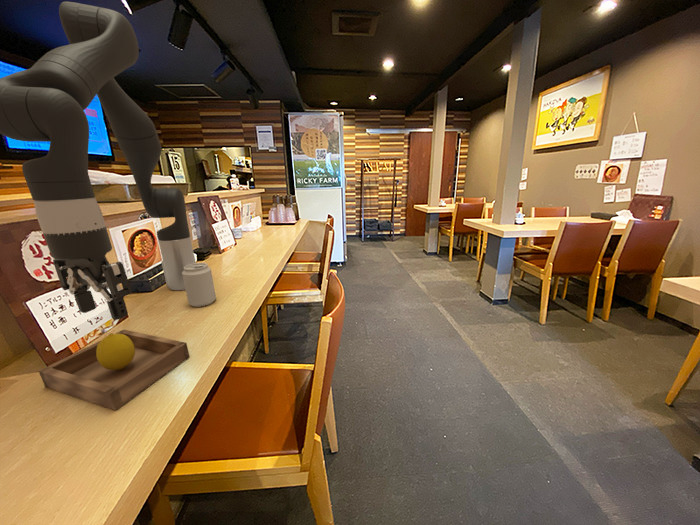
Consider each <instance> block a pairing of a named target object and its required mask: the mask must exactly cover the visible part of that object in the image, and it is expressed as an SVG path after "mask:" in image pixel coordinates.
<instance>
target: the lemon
mask: <svg viewBox="0 0 700 525" xmlns="http://www.w3.org/2000/svg"><path fill="white" fill-rule="evenodd" d="M99 341H100V342H99ZM99 341H98V342H99V344H98V346H97V350H96V356H97V360H98V362H99V363H100V365H101V366H102V367H104V368H106V369H109V370H117V369H118V370H122V369H124V367H125V366H127V365H128V364H129V363H130V362H131V361H132V360H133V358H134V355H135V347H134V344H133V342H132V341H131V339H130V338H129V337H127V336H126V335H124V334H115V333H109V334H108V335H106V336H105V337H104V338H102V339H101V340H99Z"/></svg>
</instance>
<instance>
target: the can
mask: <svg viewBox="0 0 700 525" xmlns="http://www.w3.org/2000/svg"><path fill="white" fill-rule="evenodd" d="M182 275H183V280H184V284H185V293H186V299H187V303H188V305H190V306H192V307H194V308H195V307H196V308H202V307H206V306H209V305H211V304H212V303H214V301H215V300H216V299H217V296H216V291H215V290H216V289H215V285H214V280H213V279H214V278H213V274H212V268H211V267H210V266H209V265H208V263H206V262H196V263H194V264H189V265H187V266H185V267H184V271H183V272H182ZM205 305H206V306H205ZM201 306H202V307H201Z"/></svg>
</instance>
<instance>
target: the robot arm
mask: <svg viewBox="0 0 700 525" xmlns="http://www.w3.org/2000/svg"><path fill="white" fill-rule="evenodd" d="M58 13H59V20H60V23H61V26H62V28H63V31H64V34H65V36H66V38H67V40H68V43H69V44H67V45H61V46H58V47H55V48H53V49H51V50H50V51H47V52H46V53H45V54H44V55H42V56H41V57H40V58H39V59H38V60H37V61H36V62H35V63H34V64H33V65H32V66H31V67H30V68H26V69H25V70H20V71H17V72H14V73H11V74H9V75H6V76H3V77H0V135H2V136H4V137H6V138H8V139H12V140H16V141H22V142H40V143H41V142H49V149H48V153H47V154H46V155H44V156H42V157H37V158H32V159H29V160H26V161H25V162H23V163H22V165H21V170H22V174H23V177H24V180H25V182H26V185H27V188H28V191H29V193H30V196H31V198H32V200H33V205H34V209H35V215H36V219H37V221H38V224H39V227H40V229H41V232H42V235H43V237H44V240H45V243H46V245H47V248H48V250H49V253H50V256H51V257H52V262H53V266H54V269H55V272H56V274H57V278H58V280H59V283H60V284H59V285H60V286H61V289H62V290H63V291H67V290H68V292H69V293H70V294H71V295H73V296H74V299H75V302H76V305H77V307H78V310H79V312H80V313H83V314H86V313H89V312H91V311H94V310H96V308H97V306H96V305H97V304H96V303H95V299H94V296H93V293H92V290H90V288H92V289H93V291H94V292H96V293H100V294H101V295H102V296H103V297H104V299H105V300H106V304H107V307H108V310H109V313H110V316H111V319H113V320H116V321H118V320H120V319H122V318H125V317H126V316H128V314H129V312H128V309H127V306H126V302H125V297H127V296H128V295H131V294H132V293H133V290H132V287H131V284H130V282H129V278H128V275H127V273H126V269H125V267H124V266H125V265H124V263H123V262H122V261H117V262H112V263H110V262H109V260H108V258H107V257H106V255H107V254H108V253H110V252H111V251H112V250H113V246H112V242H111V238H110V236H109V232H108V229H107V226H106V223H105V222H106V221H105V219H104V215H103V212H102V209H101V208H100V205H99V203H98V201H97V198H96V195H95V191H94V189H93V185H92V182H91V178H90V176H89V145H90V144H89V141H90V125H89V121H88V117H87V115H86V113H85V110H86V109H87V108H88V107H89V106H90V104H91V103H92V102H93V100H94V98H95V97H96V96H97V97H98V101H99V102H100V105H101V107H102V109H103V111H104V114H105V116H106V118H107V120H108V123H109V125H110V127H111V130H112V133H113V136H114V137H115V140H116V143H117V144H118V147H119V149H120V151H121V153H122V155H123V158H125V162H126V163H127V165H128V167H129V169H130V171H131V174H132V177H133V179H134V182H135V185H136V187H137V191H138V194H139V197H140V200H141V203H142V205H143V207H144V210H145V212H146V213H147V215H148V216H150V217H151V218H153V219H164V218H165V219H166V218H167V219H168V218H174V222H173V223H172V224H169V226H166V227H163V228H160V229H158V230H157V231H156V237H157V241H158V246H159V249H160V254H161V259H162V260H161V266H162V270H163V274H164V279H165V282H166V283H165V284H166V287H167V288H169V290H171V291H186V289H185V284H184V280H183V275H182V272H183V271H184V267H185V266H187V265H189V264H194V263H197V262H196V257H195V253H194V248H193V244H192V238H191V233H190V227H189V221H188V216H187V207H186V201H185V197H184V194H183V192H182V190H181V189H180V188H176V187H160V188H158V187H157V188H155V187H153V186H152V178H153V174H154V171H155V168H156V167H157V165H158V163H159V160H160V158H161V155H162V144H161V142H160V138H159V135H158V133H157V129H156V126H155V124H154V122H153V120H152V119H151V118H150V117H149V115H148V114H147V113H146V112H145V111H144V110H143V108H141V107H140V106H139V105H138V104H137V103H136V102H135V101H134V100H133V99H132V98H131V97H130V96H129V95H128V94H127V93H126V92H125V90H124V89H122V87H121V86H120V85H119V83H118V82H117V81H116V79H115V77H117V76H118V75H120V74H122V72H124V71H126V70H127V69H129V68H130V67H132V66H133V65H135V64H136V62H137V60H138V58H139V41H138V39H137V35H136V32H135V30H134V28H133V26H132V24H131V23H130V22H131V21H129V20H128V19H127V17H125V15H123V14H122V13H120V12H119V11H116V10H114V9H110V8H105V7H101V6H96V5H90V4H84V3H80V2H73V1H62V2H61V3H60V4H59V7H58ZM120 284H121V285H120Z"/></svg>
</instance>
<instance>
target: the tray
mask: <svg viewBox="0 0 700 525" xmlns="http://www.w3.org/2000/svg"><path fill="white" fill-rule="evenodd" d="M114 334H124V335H126V336H127V337H129V338H130V339H131V341H132V342H133V344H134V347H135V355H134V358H133V360H132V361H131V362H130V363H129V364H128V365H127V366H125V367H124V369H122V370H118V369H117V370H109V369H106V368H104V367H102V366H101V365H100V363H99V362H98V360H97V356H96V350H97V346H98V344H99V342H100V341H101V340H99V341H97V342H94V343H92V344H91V345H89V346H87V347H85V348H83V349H80V350H79V351H77V352H74V353H72V354H70V355H68V356H66V357H64V358H62V359H60V360H58V361H56V362H54V363H51V364H50V365H47V366H45V367H43V368H42V369H39V370H38V373H39V376H40V378H41V380H42V382H43V385H44V387H45V388H47V389H50V390H54V391H56V392H59V393H62V394H66V395H68V396H71V397H74V398H76V399H80V400H83V401H86V402H88V403H92V404H94V405H98V406H101V407H104V408H106V409H109V410H112V411H115V412H116V411H118V410H119V409H120V408H122V407H123V406H125V405H126V404H127V403H129V402H130V401H132V400H133V399H135V397H137V396H138V395H140V394H141V393H143V392H144V391H145V390H147V389H148V388H149V387H150V386H152V385H153V384H154V383H156V382H157V381H159V380H160V379H162V378H163V377H165V376H166V375H167V374H169V373H170V372H172V371H173V370H174V369H175V368H177V367H178V366H180V365H181V364H182V363H184V362H185V361H187V360H188V359H189V358H190V353H189V352H190V351H189V348H188V344H187V342H185V341H180V340H174V339H170V338H165V337H160V336H157V335H151V334H146V333H142V332H138V331H133V330H127V329H121V330H120V331H117V332H115V333H114Z"/></svg>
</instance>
